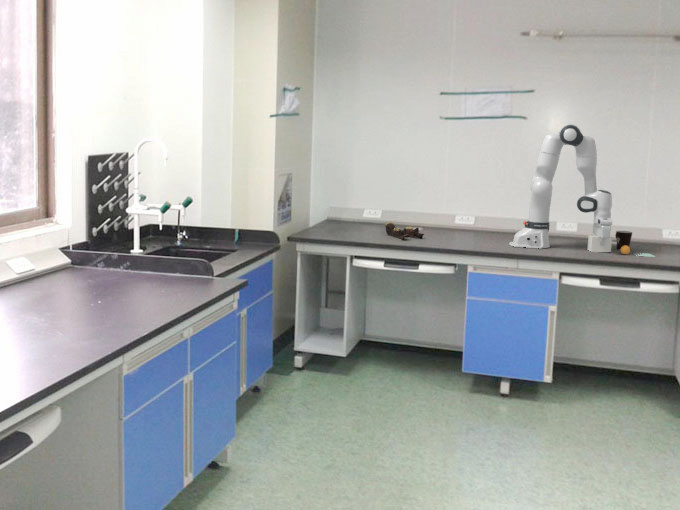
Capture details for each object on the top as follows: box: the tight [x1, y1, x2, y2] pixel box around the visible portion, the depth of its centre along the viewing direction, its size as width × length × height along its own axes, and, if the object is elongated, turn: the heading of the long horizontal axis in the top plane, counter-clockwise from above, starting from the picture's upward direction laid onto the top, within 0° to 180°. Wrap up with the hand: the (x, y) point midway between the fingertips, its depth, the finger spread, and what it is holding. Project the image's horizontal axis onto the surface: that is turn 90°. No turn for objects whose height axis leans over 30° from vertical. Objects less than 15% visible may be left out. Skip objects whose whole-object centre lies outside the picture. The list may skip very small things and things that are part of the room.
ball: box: [620, 245, 631, 255], centre depth 431 cm, size 5×5×5 cm
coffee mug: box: [614, 230, 633, 250], centre depth 450 cm, size 12×9×10 cm
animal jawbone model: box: [385, 221, 425, 241], centre depth 469 cm, size 17×25×10 cm
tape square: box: [636, 252, 656, 258], centre depth 431 cm, size 10×10×1 cm
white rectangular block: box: [586, 234, 613, 253], centre depth 438 cm, size 11×7×9 cm, turn 88°
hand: (599, 244), depth 438 cm, fingers closed on white rectangular block, 7 cm apart
